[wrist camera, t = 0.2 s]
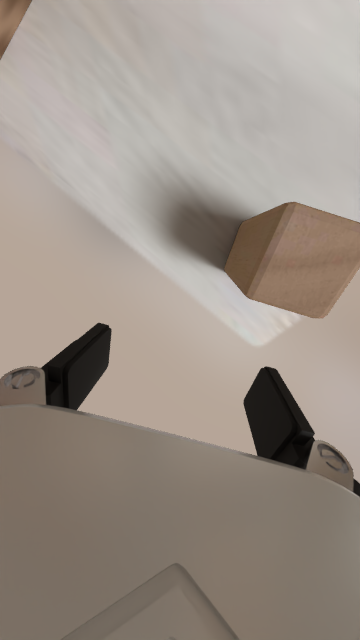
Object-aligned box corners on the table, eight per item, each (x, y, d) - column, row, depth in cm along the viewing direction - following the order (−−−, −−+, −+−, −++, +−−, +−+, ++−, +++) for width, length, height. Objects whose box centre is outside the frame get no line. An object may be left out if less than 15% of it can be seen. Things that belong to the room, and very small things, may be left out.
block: (266, 284, 39) (326, 323, 20) (222, 271, 38) (242, 298, 20) (290, 235, 35) (392, 229, 16) (241, 219, 34) (288, 196, 16)
